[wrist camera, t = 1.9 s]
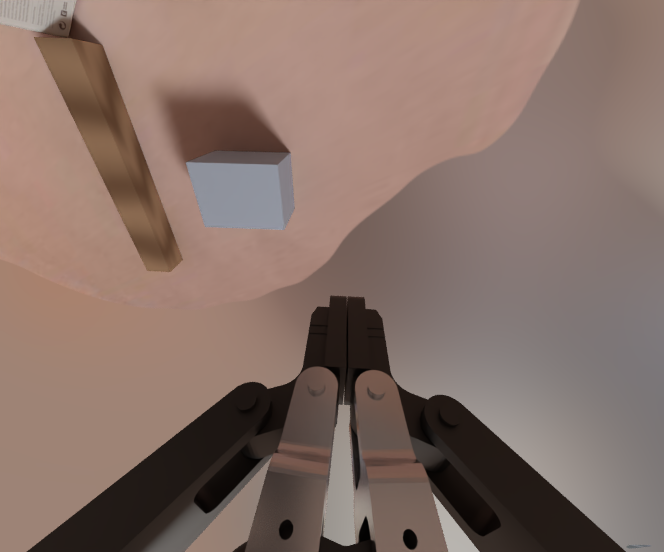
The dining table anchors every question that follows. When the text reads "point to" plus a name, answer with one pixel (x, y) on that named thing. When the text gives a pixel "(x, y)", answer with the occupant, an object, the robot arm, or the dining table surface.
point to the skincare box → (39, 15)
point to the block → (243, 189)
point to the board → (112, 144)
